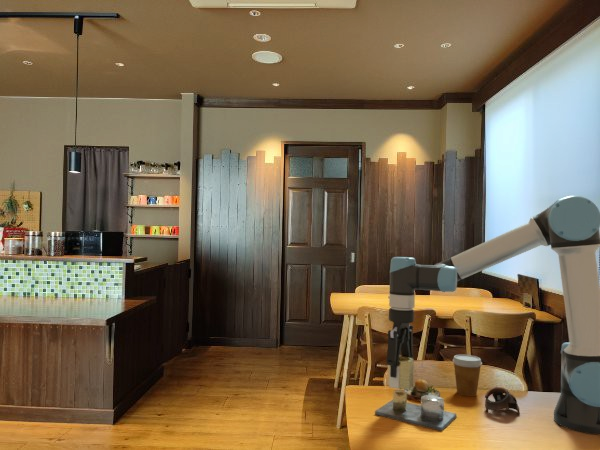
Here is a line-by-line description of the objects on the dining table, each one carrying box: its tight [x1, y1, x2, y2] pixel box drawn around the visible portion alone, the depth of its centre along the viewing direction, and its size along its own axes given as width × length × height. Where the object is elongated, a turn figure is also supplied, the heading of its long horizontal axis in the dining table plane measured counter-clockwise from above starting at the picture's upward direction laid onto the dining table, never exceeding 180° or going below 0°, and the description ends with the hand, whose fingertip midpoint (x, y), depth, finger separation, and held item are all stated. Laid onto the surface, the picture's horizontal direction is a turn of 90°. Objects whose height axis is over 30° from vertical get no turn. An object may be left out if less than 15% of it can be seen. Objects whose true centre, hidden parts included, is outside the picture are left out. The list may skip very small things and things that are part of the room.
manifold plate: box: [374, 389, 457, 432], centre depth 144 cm, size 20×13×6 cm, turn 55°
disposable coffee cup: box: [452, 354, 483, 397], centre depth 166 cm, size 10×10×12 cm
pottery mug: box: [484, 386, 521, 415], centre depth 149 cm, size 12×10×8 cm
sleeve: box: [386, 355, 415, 390], centre depth 147 cm, size 7×7×8 cm
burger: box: [403, 378, 441, 403], centre depth 161 cm, size 12×12×8 cm
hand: (399, 384), depth 147 cm, fingers closed on sleeve, 7 cm apart
